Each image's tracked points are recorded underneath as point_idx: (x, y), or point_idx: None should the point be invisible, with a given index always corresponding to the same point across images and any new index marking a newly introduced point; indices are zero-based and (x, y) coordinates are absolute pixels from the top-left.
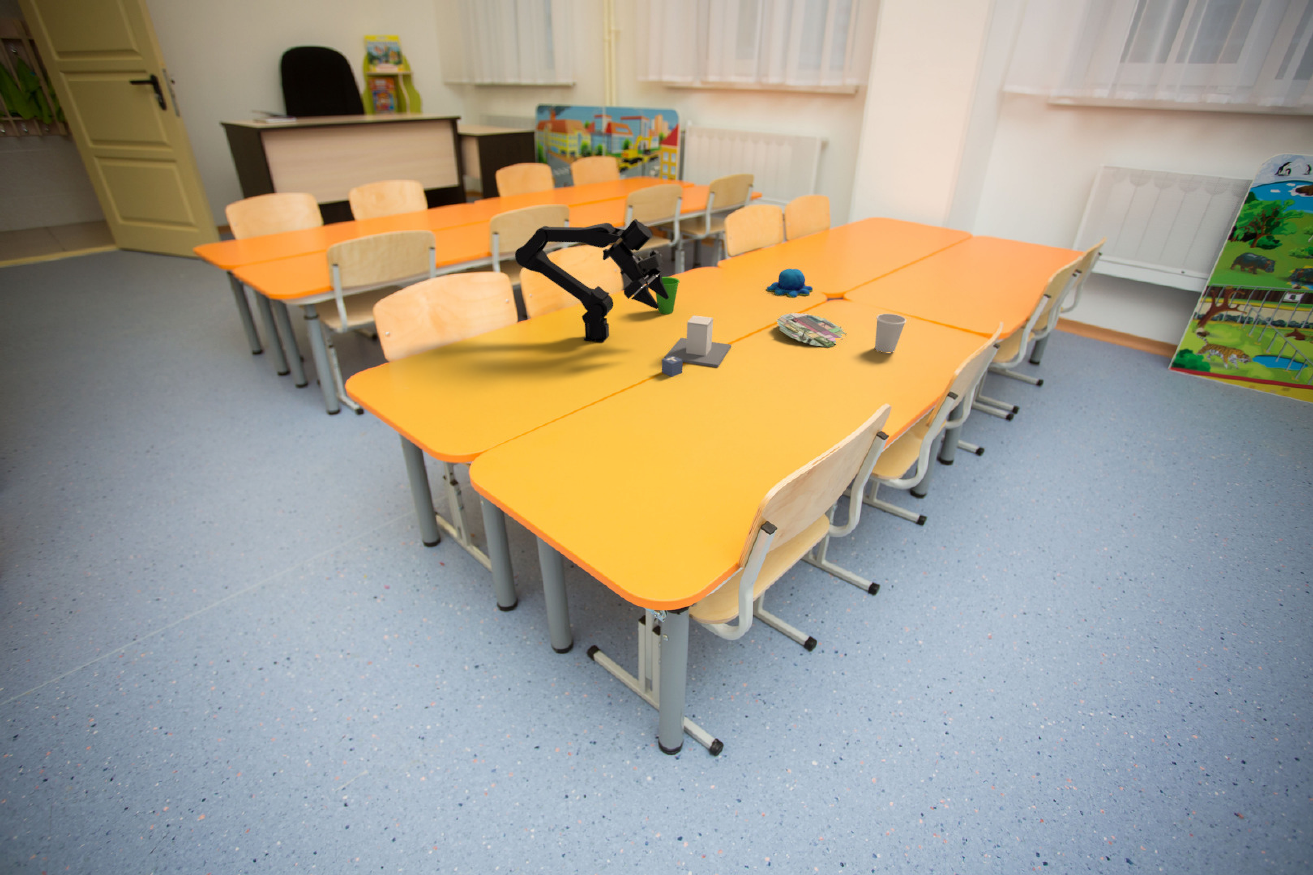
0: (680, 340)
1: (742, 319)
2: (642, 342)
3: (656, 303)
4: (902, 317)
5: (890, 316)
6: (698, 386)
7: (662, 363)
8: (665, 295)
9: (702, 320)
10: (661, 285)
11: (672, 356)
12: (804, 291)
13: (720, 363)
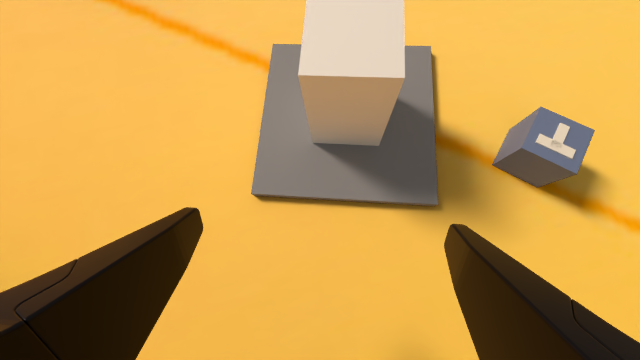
0: (277, 188)
1: (51, 62)
2: (309, 330)
3: (483, 242)
4: None
5: None
6: (573, 70)
7: (564, 176)
8: (183, 235)
9: (356, 23)
10: (82, 292)
11: (530, 145)
12: None
13: None
